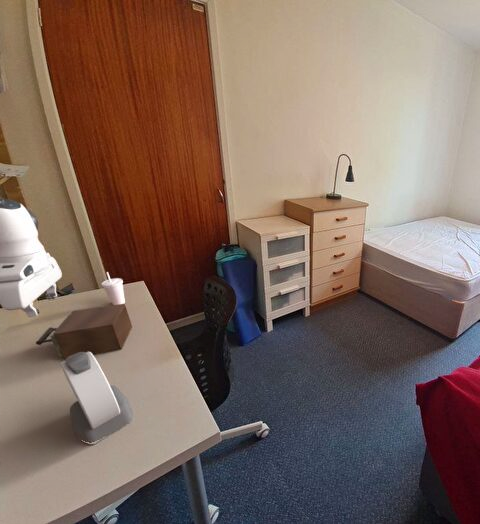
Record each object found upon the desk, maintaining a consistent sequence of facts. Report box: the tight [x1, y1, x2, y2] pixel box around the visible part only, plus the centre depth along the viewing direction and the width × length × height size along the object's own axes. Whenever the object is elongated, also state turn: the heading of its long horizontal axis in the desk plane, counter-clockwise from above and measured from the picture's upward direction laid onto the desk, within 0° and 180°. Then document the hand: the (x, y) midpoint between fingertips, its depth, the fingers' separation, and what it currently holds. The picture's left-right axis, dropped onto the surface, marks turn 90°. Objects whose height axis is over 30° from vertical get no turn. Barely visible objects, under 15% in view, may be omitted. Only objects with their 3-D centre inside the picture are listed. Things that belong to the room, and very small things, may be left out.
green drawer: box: [35, 314, 70, 358], centre depth 87 cm, size 17×11×8 cm, turn 113°
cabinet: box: [53, 303, 133, 360], centre depth 89 cm, size 14×13×10 cm
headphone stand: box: [60, 352, 133, 443], centre depth 63 cm, size 16×10×18 cm, turn 53°
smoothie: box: [101, 271, 126, 305], centre depth 109 cm, size 6×6×14 cm
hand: (44, 306), depth 79 cm, fingers open, 8 cm apart
